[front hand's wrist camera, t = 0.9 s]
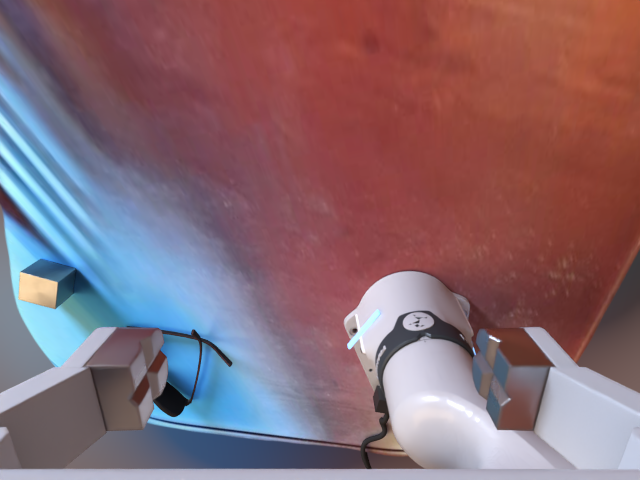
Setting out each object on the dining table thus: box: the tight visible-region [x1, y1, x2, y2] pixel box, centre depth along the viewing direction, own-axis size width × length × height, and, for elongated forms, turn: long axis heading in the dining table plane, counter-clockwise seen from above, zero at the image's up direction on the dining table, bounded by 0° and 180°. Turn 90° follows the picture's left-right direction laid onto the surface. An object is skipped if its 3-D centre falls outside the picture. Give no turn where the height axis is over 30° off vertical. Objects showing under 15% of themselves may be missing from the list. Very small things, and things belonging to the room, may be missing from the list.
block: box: [19, 259, 76, 309], centre depth 57 cm, size 4×5×4 cm
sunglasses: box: [127, 326, 232, 417], centre depth 61 cm, size 17×14×5 cm
